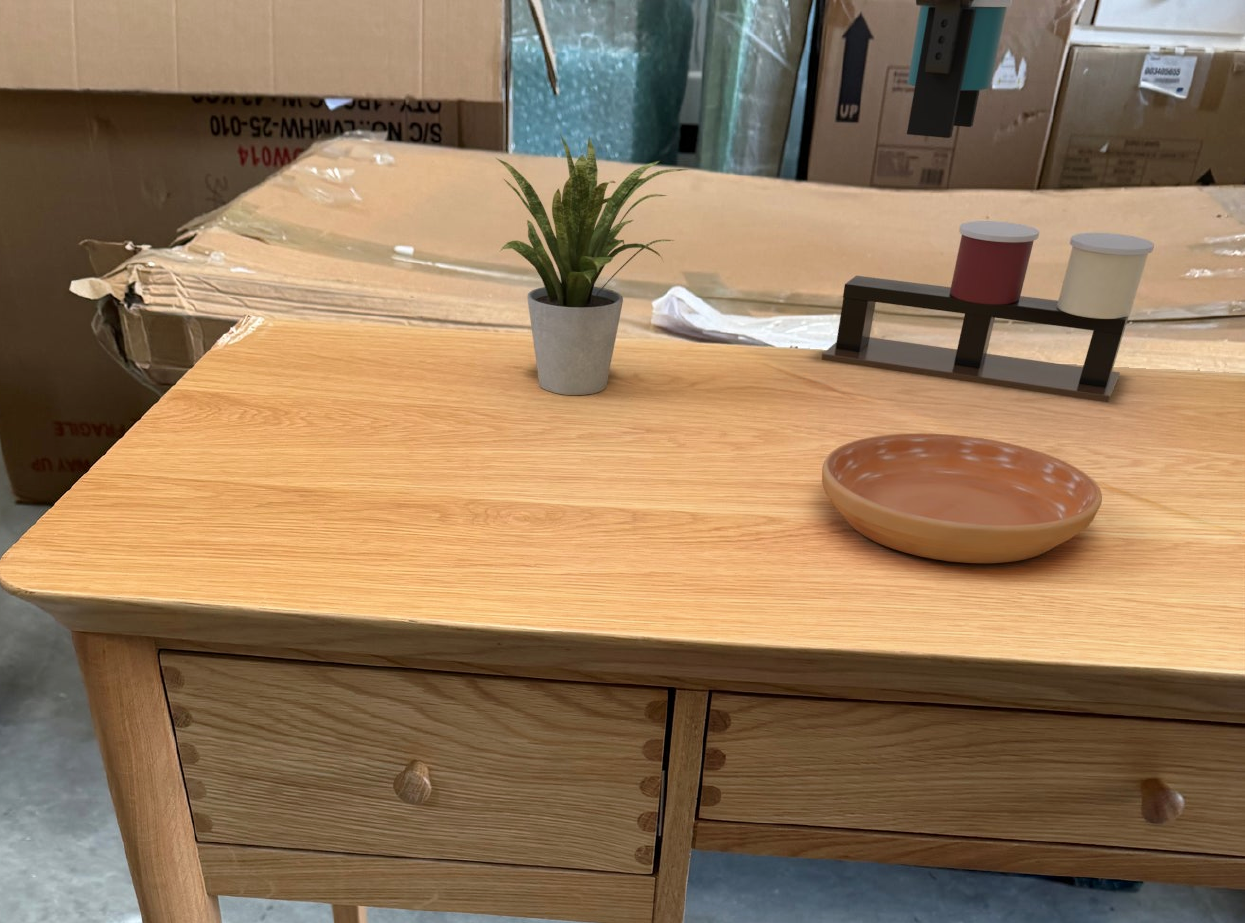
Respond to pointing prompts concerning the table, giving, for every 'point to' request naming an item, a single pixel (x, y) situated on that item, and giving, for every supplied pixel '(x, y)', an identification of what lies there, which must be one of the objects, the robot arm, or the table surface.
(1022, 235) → the burgundy pod
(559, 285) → the house plant
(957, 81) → the robot arm
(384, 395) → the table surface
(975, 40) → the teal pod
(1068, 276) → the cup
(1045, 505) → the saucer
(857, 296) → the stand
